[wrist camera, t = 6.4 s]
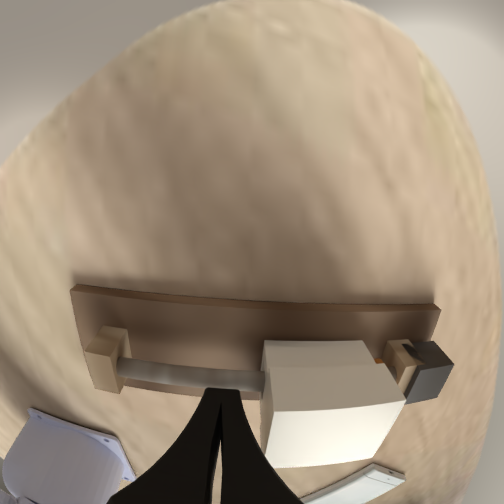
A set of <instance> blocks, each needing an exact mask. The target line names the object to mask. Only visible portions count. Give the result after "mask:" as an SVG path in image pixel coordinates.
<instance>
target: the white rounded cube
mask: <svg viewBox="0 0 504 504" xmlns="http://www.w3.org/2000/svg"><path fill="white" fill-rule="evenodd" d="M261 371H265V387H264V392H259V397H260V414H261V425H260V438H261V450H262V452H263V454H264V455H265V457H266V458H267V460H268V462H269V463H270V465H271V466H272V467H273V468H290V467H306V466H318V465H327V464H336V463H343V462H350V461H356V460H362V459H367V458H372V457H373V455H374V454H375V452H376V451H377V449H378V448H379V446H380V445H381V443H382V442H383V440H384V438H385V437H386V435H387V433H388V432H389V430H390V428H391V427H392V425H393V423H394V422H395V420H396V418H397V416H398V415H399V413H400V411H401V409H402V407H403V406H404V404H405V402H406V398H405V397H404V395H403V393H402V391H401V390H400V388H399V386H398V385H397V383H396V381H395V380H394V378H393V376H392V375H391V373H390V371H389V370H388V368H387V367H386V365H385V363H381V364H376V362H375V361H374V359H373V357H372V356H371V354H370V352H369V350H368V349H367V347H366V345H365V344H364V342H363V340H357V341H274V340H264V347H263V355H262V364H261Z"/></svg>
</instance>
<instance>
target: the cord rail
mask: <svg viewBox="0 0 504 504" xmlns="http://www.w3.org/2000/svg"><path fill="white" fill-rule="evenodd" d="M70 294H71V300H72V305H73V310H74V315H75V319H76V324H77V328H78V332H79V337H80V341H81V344H82V348H83V352H84V356H85V359H86V363H87V366H88V369H89V373H90V376H91V378H92V381H93V384H94V387H95V389H99V390H103V391H108V392H112V393H117V394H120V392H121V390H122V388H123V386H129V387H135V388H140V389H146V390H152V391H159V392H165V393H173V394H181V395H189V396H198V397H202V396H203V394H204V391H205V389H206V388H207V387H211V388H224V389H238V390H239V391H240V395H241V400H260V397H259V392H264V387H265V371H261V364H262V355H263V347H264V340H274V341H357V340H363V342H364V344H365V345H366V347H367V349H368V350H369V352H370V354H371V356H372V357H373V359H374V361H375V362H376V364H381V363H385V365H386V367H387V368H388V370H389V371H390V373H391V375H392V376H393V378H394V380H395V381H396V383H397V385H398V386H399V388H400V390H401V391H402V393H403V395H404V397H405V398H406V402H405V404H410V403H415V402H420V401H424V400H429V399H433V398H437V397H438V395H439V393H440V391H441V389H442V387H443V386H444V384H445V382H446V380H447V378H448V376H449V374H450V372H451V370H452V368H453V366H454V363H453V362H452V361H451V360H450V359H449V358H448V356H447V355H446V354H445V353H444V352H443V351H442V350H441V348H440V347H439V346H438V345H437V344H436V343H435V342H434V341H430V340H431V337H432V335H433V332H434V329H435V327H436V324H437V321H438V318H439V315H440V312H441V309H440V308H439V307H437V306H436V305H435V304H381V305H379V304H314V303H286V302H264V301H246V300H230V299H216V298H202V297H190V296H178V295H167V294H156V293H146V292H137V291H128V290H119V289H110V288H102V287H94V286H86V285H79V284H77V285H75V286H74V287H73V288H72V289H71V290H70ZM405 404H404V405H405Z"/></svg>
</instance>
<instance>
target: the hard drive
mask: <svg viewBox="0 0 504 504" xmlns="http://www.w3.org/2000/svg"><path fill="white" fill-rule="evenodd" d="M404 481H406V477H405V475H404V474H401V473H398V472H395V471H392V470H390V469H387V468H384V467H382V466H379V465H377V464H374V463H372V464H371V465H369V466H367V467H365V468H364V469H362V470H360V471H358V472H356V473H354V474H353V475H351V476H349V477H347V478H345V479H343V480H341V481H339V482H337V483H335V484H333V485H331V486H329V487H326V488H324V489H322V490H320V491H318V492H315V493H313V494H311V495H308V496H306V497H303V498H301V499H300V500H301V501H302V502H303V503H304V504H364V503H366V502H368V501H370V500H372V499H374V498H376V497H378V496H380V495H381V494H383V493H385V492H387V491H389V490H391V489H392V488H394V487H396V486H397V485H399V484H401V483H403V482H404Z"/></svg>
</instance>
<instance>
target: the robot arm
mask: <svg viewBox="0 0 504 504" xmlns="http://www.w3.org/2000/svg"><path fill="white" fill-rule="evenodd" d="M27 411H28V413H29V415H30V418H29V419H28V421H27V422H26V424H25V426H24V427H23V429H22V430H21V432H20V433H19V435H18V437H17V438H16V440H15V441H14V443H13V445H12V446H11V448H10V450H9V451H8V453H7V455H6V457H5V459H4V463H3V469H2V470H3V471H2V475H3V480H4V483H5V485H6V487H7V489H8V490H9V491H10V493H12V495H14V496H15V497H16V498H15V497H13V496H12V495H8V494H7V493H6V492H4V491H3V490H1V489H0V504H212V489H213V480H214V475H215V469H216V463H217V458H218V452H219V446H220V440H221V455H222V486H221V502H220V504H304V503H303V502H302V501H301V500H300V499H299V498H298V497H297V496H296V495H295V494H294V493H293V492H292V491H291V490H290V489H289V488H288V486H287V485H286V484H285V483H284V482H283V480H282V479H281V478H280V477H279V476H278V474H277V473H276V472H275V470H274V469H273V467H272V466H271V465H270V463H269V462H268V460H267V458H266V457H265V455H264V454H263V452H262V450H261V448H260V447H259V445H258V443H257V441H256V439H255V437H254V435H253V432H252V430H251V428H250V425H249V423H248V420H247V418H246V415H245V412H244V409H243V405H242V401H241V395H240V391H239V390H238V389H224V388H211V387H207V388H206V389H205V391H204V394H203V396H202V399H201V401H200V403H199V405H198V407H197V409H196V411H195V412H194V414H193V416H192V417H191V419H190V421H189V422H188V424H187V426H186V427H185V428H184V430H183V431H182V433H181V434H180V435H179V437H178V438H177V440H176V441H175V442H174V443H173V445H172V446H171V447H170V448H169V449H168V450H167V451H166V453H165V454H164V455H163V456H162V457H161V458H160V459H159V460H158V461H157V462H156V463H155V464H154V465H153V466H152V467H151V468H149V469H148V470H147V471H146V472H145V473H144V474H142V475H141V476H140V477H139V478H136V476H135V474H134V472H133V470H132V468H131V466H130V464H129V461H128V459H127V457H126V455H125V453H124V451H123V448H122V446H121V444H120V442H119V440H118V438H116V437H115V436H112V435H108V434H105V433H101V432H98V431H94V430H91V429H88V428H84V427H81V426H78V425H75V424H72V423H69V422H66V421H63V420H61V419H58V418H55V417H53V416H50V415H48V414H45V413H43V412H40V411H38V410H35V409H33V408H29V409H28V410H27ZM121 479H124V480H127V481H131V482H132V483H131V484H129V485H128V486H126V487H125V488H123V489H122V490H120V491H118V488H119V485H120V482H121Z"/></svg>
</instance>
